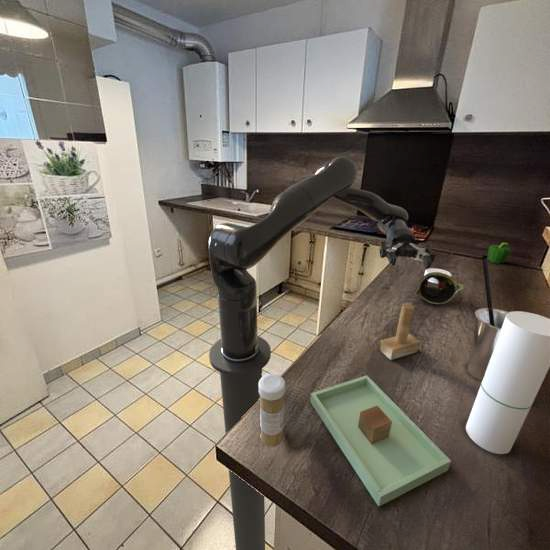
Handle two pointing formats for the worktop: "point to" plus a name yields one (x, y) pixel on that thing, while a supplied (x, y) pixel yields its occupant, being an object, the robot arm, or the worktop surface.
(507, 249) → the bell pepper
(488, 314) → the glass
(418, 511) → the worktop surface
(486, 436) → the cylindrical container
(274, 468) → the worktop surface
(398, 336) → the wooden stamp
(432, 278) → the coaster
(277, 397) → the sprinkles bottle
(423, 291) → the pot
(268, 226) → the robot arm
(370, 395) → the tray
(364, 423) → the cork cube
